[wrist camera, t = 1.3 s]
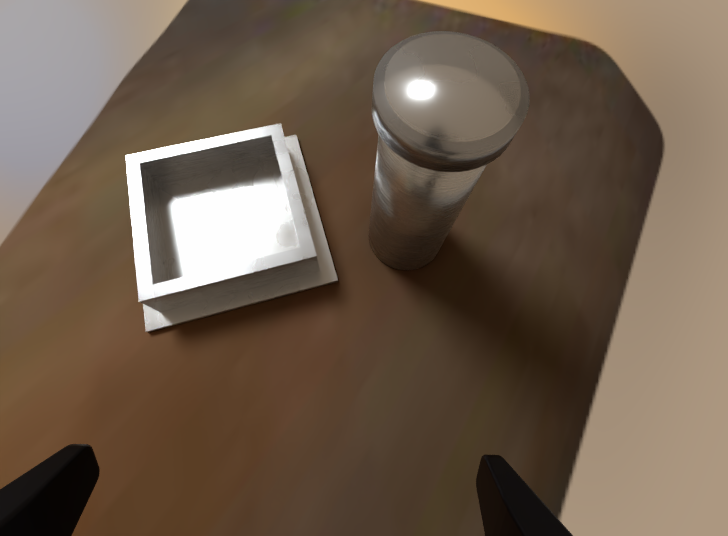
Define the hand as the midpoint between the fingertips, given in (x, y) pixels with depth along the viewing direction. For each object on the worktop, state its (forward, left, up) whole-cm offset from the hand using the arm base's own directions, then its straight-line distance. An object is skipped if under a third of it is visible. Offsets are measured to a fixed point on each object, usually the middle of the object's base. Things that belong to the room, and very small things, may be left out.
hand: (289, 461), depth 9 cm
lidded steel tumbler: (+4, -13, -14) cm, 19 cm away
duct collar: (+14, -6, -14) cm, 20 cm away
